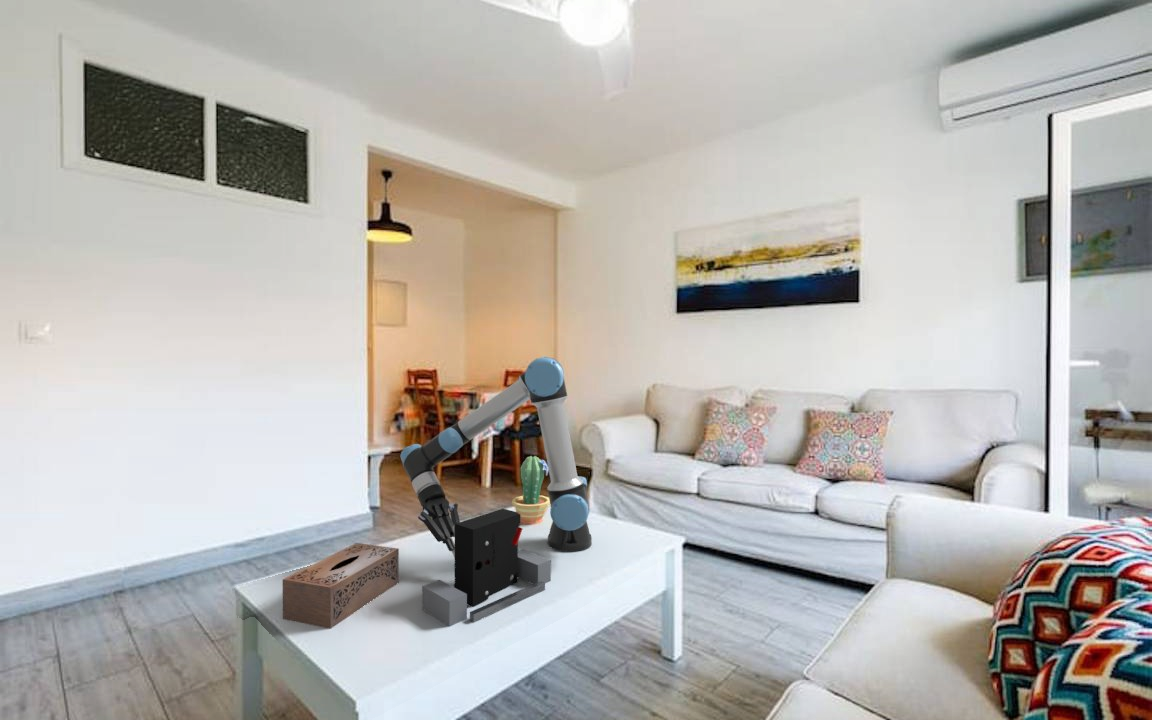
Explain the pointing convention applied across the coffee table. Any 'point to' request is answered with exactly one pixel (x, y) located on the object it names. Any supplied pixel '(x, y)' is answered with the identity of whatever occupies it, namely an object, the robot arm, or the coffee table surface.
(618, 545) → the coffee table surface
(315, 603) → the tissue box cover
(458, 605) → the block
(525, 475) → the potted cactus
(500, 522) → the electrical component
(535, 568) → the block
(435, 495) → the robot arm
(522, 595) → the metal rail
